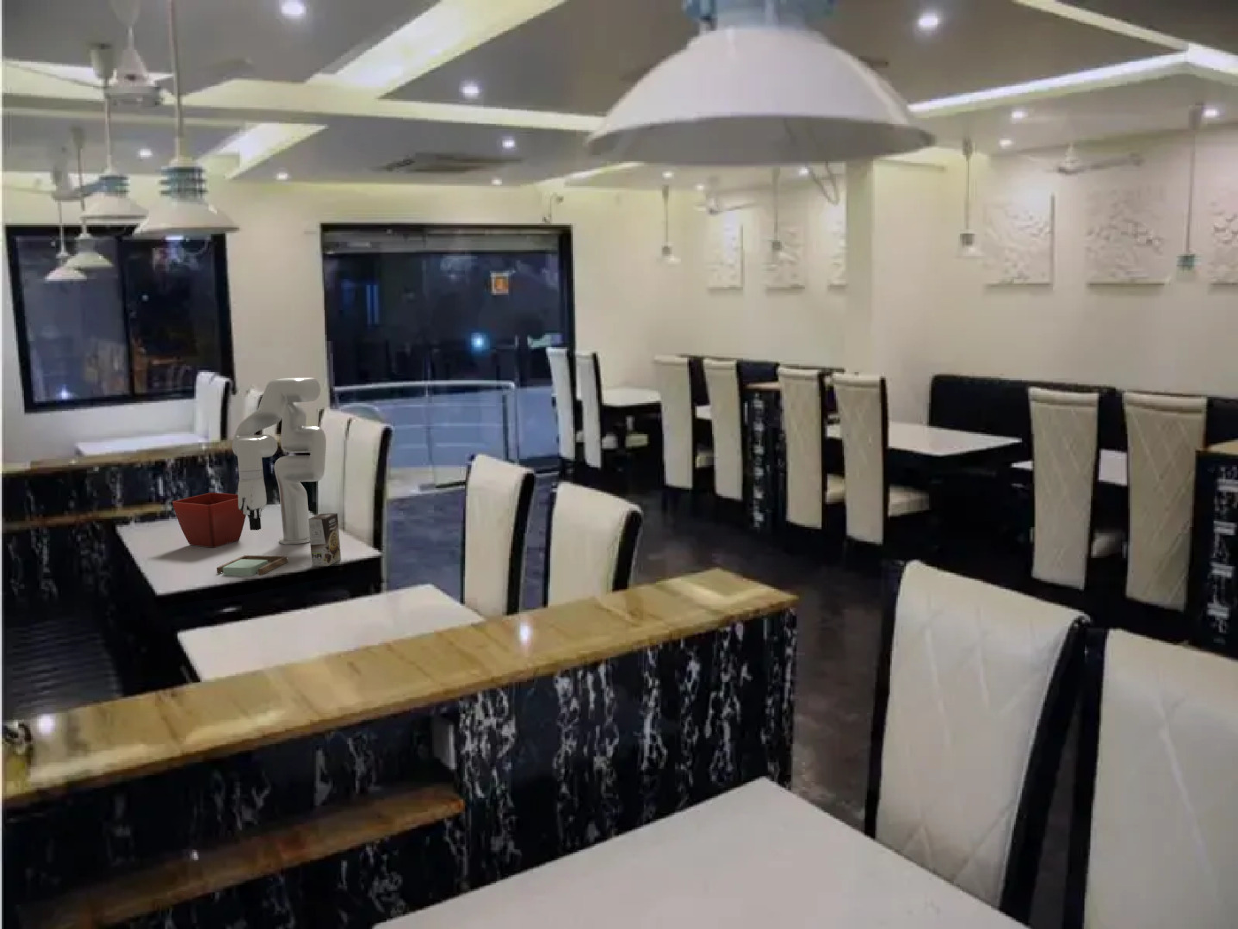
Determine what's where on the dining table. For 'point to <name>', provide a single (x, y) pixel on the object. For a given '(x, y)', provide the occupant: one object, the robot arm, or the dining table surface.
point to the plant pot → (210, 519)
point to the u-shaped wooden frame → (274, 559)
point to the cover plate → (244, 567)
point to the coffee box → (324, 539)
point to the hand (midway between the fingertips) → (255, 529)
